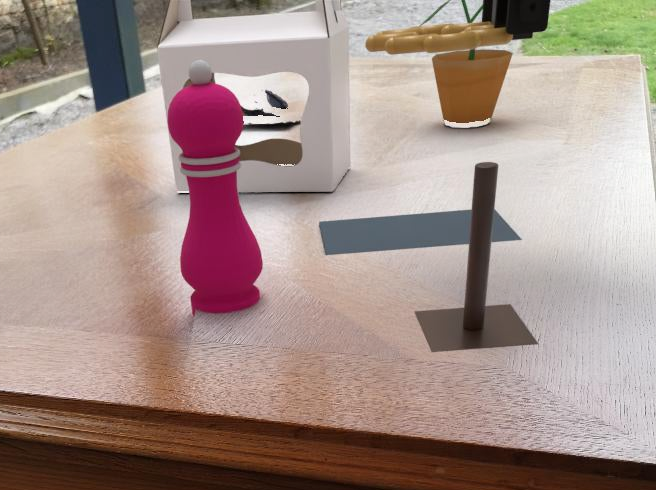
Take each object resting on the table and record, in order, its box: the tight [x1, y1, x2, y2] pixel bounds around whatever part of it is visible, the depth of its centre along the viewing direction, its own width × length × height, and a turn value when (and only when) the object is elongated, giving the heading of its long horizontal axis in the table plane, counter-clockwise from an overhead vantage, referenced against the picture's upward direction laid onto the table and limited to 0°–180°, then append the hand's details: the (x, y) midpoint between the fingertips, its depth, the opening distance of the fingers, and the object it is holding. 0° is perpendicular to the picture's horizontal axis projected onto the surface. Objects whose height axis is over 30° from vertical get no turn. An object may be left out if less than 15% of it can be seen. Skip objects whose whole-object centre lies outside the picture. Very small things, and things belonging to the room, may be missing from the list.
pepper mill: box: [166, 60, 264, 317], centre depth 65 cm, size 7×7×20 cm
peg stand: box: [414, 161, 539, 353], centre depth 58 cm, size 8×8×13 cm
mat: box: [318, 208, 523, 256], centre depth 82 cm, size 20×18×1 cm
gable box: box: [156, 0, 351, 193], centre depth 101 cm, size 22×13×28 cm, turn 76°
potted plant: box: [419, 0, 514, 123], centre depth 121 cm, size 18×19×30 cm
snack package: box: [241, 89, 289, 117], centre depth 140 cm, size 12×6×12 cm
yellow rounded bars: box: [365, 0, 534, 56], centre depth 65 cm, size 14×9×3 cm
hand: (512, 26), depth 65 cm, fingers closed on yellow rounded bars, 6 cm apart
